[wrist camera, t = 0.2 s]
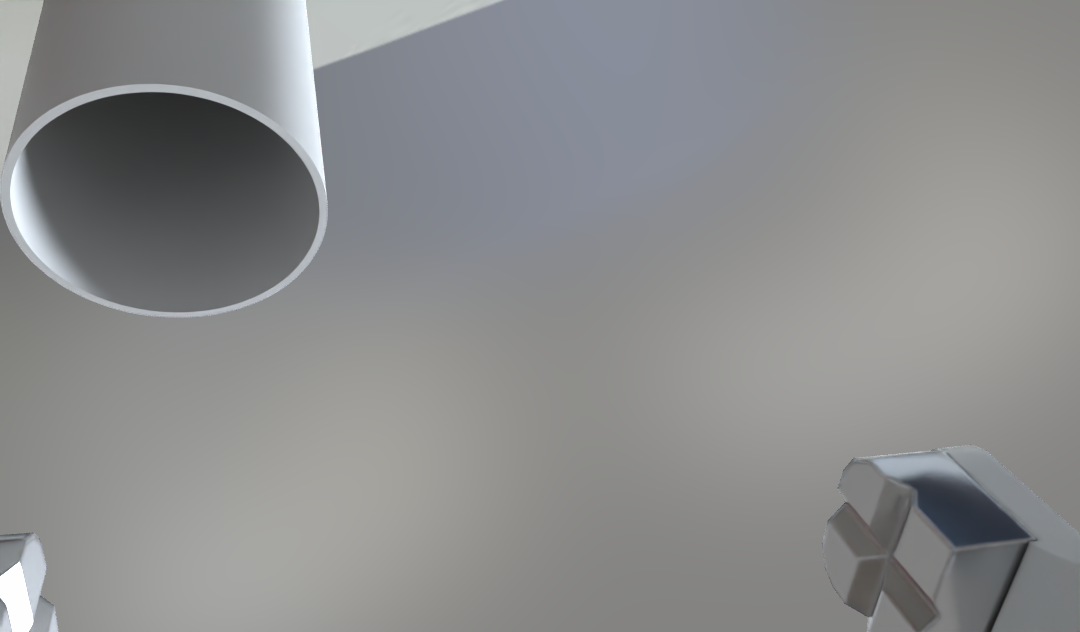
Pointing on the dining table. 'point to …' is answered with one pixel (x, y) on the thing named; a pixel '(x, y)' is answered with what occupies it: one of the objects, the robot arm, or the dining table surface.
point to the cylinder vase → (168, 153)
